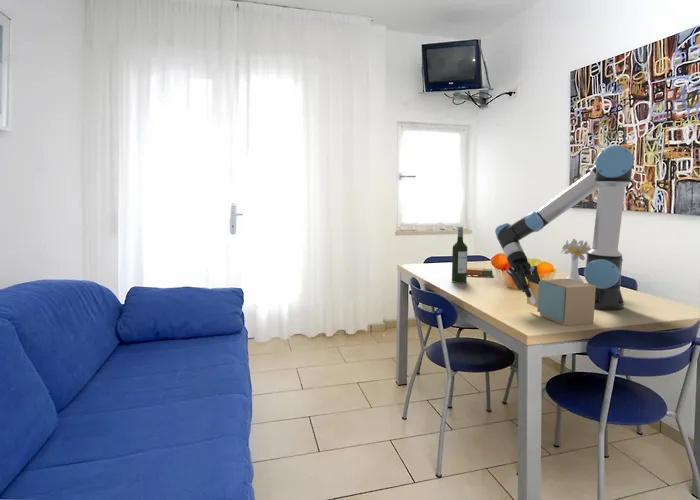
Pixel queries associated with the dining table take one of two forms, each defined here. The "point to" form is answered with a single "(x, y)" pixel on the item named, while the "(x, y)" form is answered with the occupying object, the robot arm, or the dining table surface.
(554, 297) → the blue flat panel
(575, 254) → the flower vase
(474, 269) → the carton
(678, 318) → the dining table surface
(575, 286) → the kraft box
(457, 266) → the wine bottle
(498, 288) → the dining table surface
